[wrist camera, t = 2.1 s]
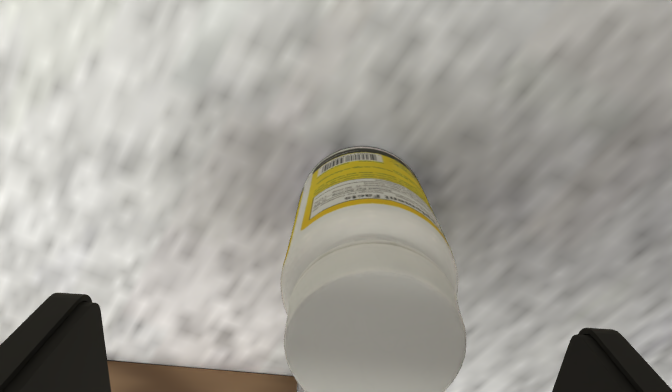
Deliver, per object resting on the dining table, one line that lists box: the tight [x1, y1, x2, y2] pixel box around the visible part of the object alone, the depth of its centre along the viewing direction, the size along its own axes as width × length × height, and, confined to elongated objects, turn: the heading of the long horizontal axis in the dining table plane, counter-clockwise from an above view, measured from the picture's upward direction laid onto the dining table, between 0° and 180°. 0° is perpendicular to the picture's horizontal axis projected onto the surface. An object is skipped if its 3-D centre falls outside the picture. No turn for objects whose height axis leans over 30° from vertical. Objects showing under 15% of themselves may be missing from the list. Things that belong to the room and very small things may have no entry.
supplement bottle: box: [281, 147, 466, 392], centre depth 13 cm, size 5×5×8 cm
